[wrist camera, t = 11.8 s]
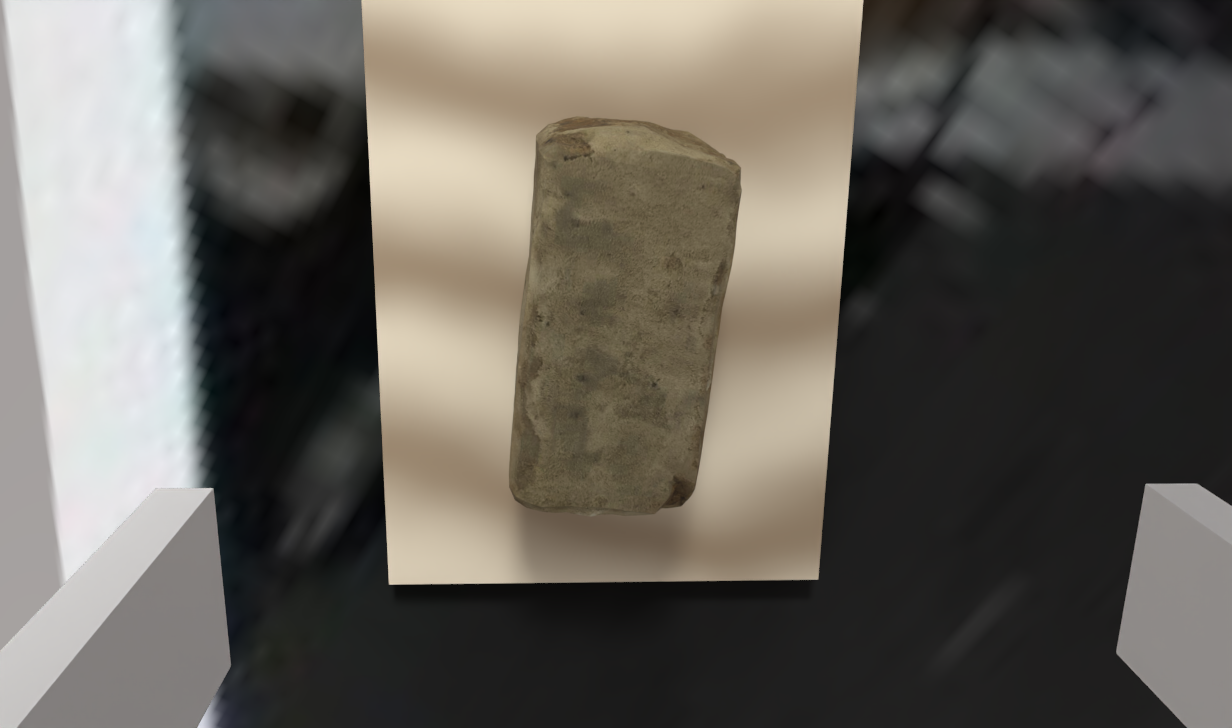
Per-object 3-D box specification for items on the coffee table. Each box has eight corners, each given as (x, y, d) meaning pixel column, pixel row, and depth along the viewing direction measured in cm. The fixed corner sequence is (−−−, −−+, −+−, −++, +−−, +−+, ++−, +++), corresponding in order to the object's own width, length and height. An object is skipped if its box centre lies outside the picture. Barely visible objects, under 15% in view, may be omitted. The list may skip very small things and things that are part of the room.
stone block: (509, 460, 34) (501, 521, 29) (536, 108, 31) (533, 112, 26) (680, 472, 35) (700, 535, 30) (723, 127, 32) (753, 134, 27)
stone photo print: (366, -32, 31) (359, -35, 30) (855, -20, 32) (864, -23, 31) (393, 570, 36) (389, 584, 35) (811, 566, 37) (818, 579, 36)
